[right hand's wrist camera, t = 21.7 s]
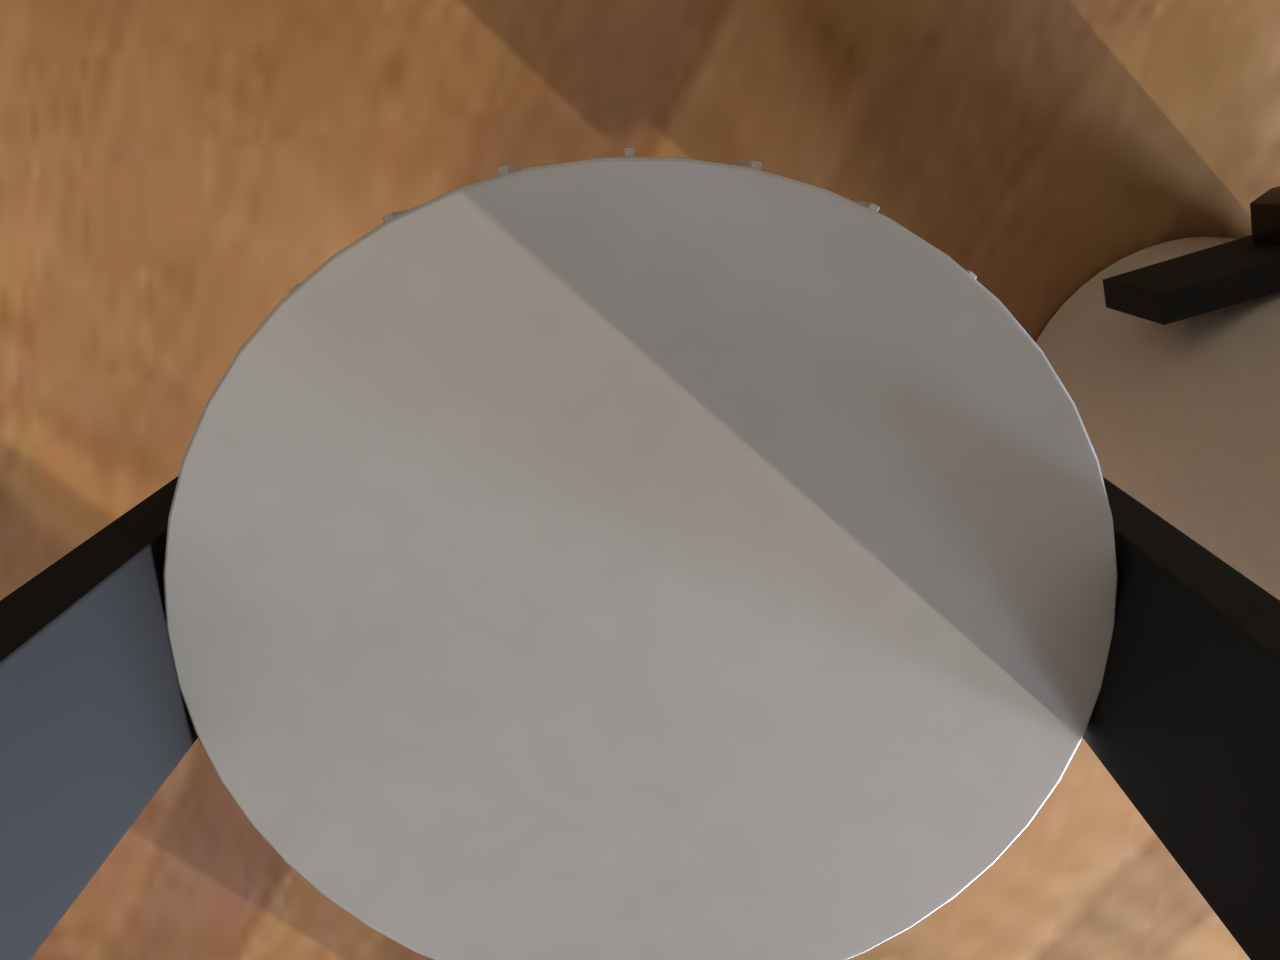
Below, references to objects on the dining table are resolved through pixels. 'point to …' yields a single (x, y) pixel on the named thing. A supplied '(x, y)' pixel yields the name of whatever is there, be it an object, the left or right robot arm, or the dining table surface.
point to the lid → (640, 571)
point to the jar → (1183, 410)
